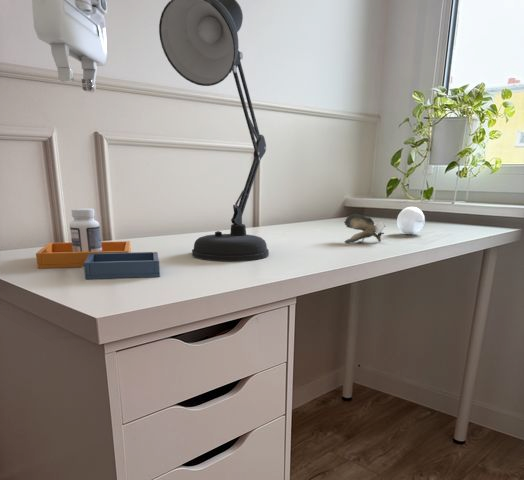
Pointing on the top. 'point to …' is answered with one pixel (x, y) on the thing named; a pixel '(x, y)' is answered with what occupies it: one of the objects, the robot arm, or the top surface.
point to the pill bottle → (85, 231)
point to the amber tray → (74, 254)
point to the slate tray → (121, 265)
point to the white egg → (410, 220)
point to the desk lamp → (207, 74)
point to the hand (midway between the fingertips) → (78, 86)
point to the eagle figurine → (364, 227)
